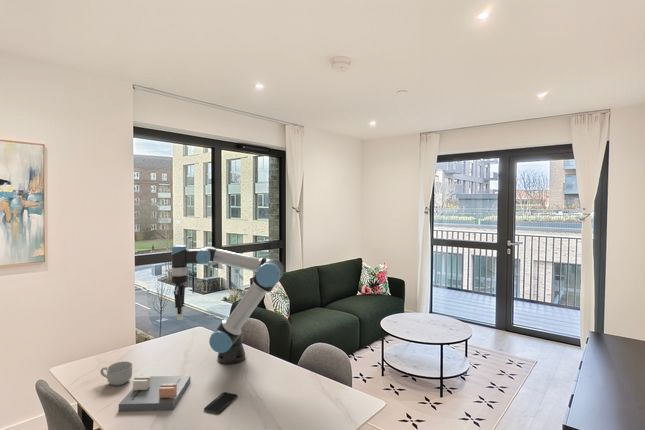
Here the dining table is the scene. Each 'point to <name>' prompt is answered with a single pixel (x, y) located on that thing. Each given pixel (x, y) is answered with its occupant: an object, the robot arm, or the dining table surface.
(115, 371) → the teacup
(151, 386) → the console
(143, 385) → the block
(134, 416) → the dining table surface
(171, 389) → the fader terracotta
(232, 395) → the phone
